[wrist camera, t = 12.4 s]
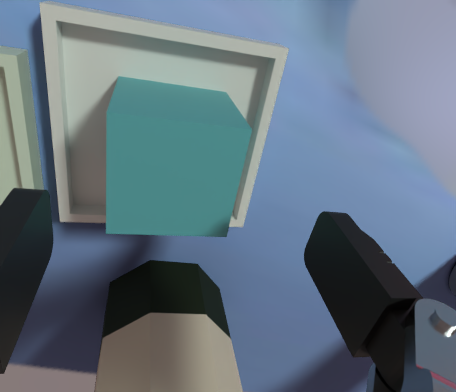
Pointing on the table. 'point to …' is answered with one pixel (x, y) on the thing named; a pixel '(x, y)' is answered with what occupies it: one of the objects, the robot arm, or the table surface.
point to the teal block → (172, 159)
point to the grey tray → (146, 70)
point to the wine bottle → (166, 333)
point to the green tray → (17, 125)
